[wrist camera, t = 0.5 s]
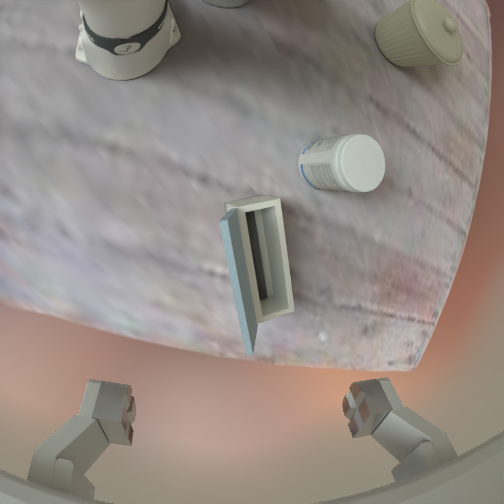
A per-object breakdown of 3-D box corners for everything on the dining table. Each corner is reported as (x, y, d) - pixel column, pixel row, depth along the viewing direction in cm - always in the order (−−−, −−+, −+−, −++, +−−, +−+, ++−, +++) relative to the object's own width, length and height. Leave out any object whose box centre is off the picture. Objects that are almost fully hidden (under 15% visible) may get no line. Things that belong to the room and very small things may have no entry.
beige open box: (224, 203, 54) (237, 207, 46) (261, 195, 56) (279, 198, 48) (243, 305, 60) (257, 323, 52) (276, 295, 61) (294, 311, 54)
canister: (421, 78, 62) (485, 67, 43) (375, 75, 58) (445, 56, 38) (403, 19, 56) (461, -2, 37) (354, 9, 52) (415, -23, 33)
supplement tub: (335, 191, 60) (384, 197, 47) (294, 186, 57) (338, 191, 44) (338, 144, 58) (388, 140, 45) (297, 136, 55) (343, 127, 42)
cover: (237, 207, 46) (230, 208, 46) (227, 219, 38) (219, 221, 38) (257, 324, 52) (252, 324, 52) (253, 354, 44) (246, 354, 44)
